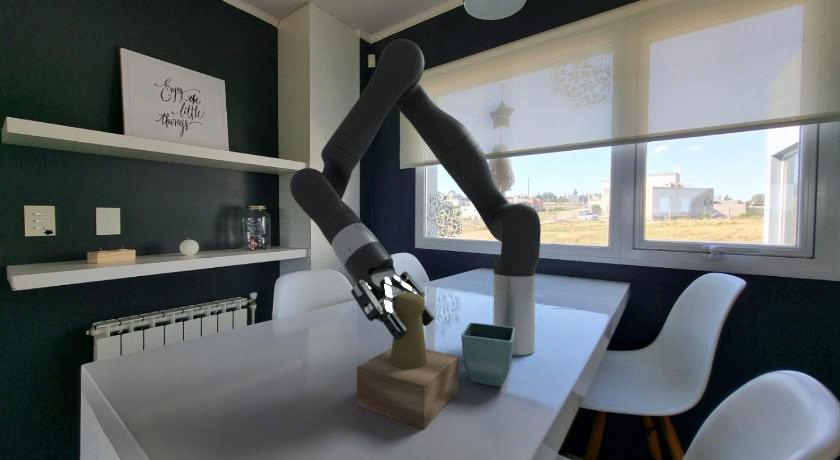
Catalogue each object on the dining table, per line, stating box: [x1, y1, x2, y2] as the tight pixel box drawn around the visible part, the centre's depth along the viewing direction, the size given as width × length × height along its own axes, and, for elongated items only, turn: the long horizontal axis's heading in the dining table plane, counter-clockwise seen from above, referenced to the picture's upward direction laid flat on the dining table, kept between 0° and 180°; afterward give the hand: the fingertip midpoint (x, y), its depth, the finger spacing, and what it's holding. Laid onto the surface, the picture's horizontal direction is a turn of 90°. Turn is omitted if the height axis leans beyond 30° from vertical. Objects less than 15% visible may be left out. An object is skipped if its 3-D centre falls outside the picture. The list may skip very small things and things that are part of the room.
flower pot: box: [460, 322, 515, 388], centre depth 60 cm, size 9×9×9 cm
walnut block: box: [356, 347, 460, 430], centre depth 53 cm, size 12×12×6 cm
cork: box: [390, 292, 427, 369], centre depth 53 cm, size 6×6×11 cm
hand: (417, 329), depth 53 cm, fingers open, 8 cm apart
